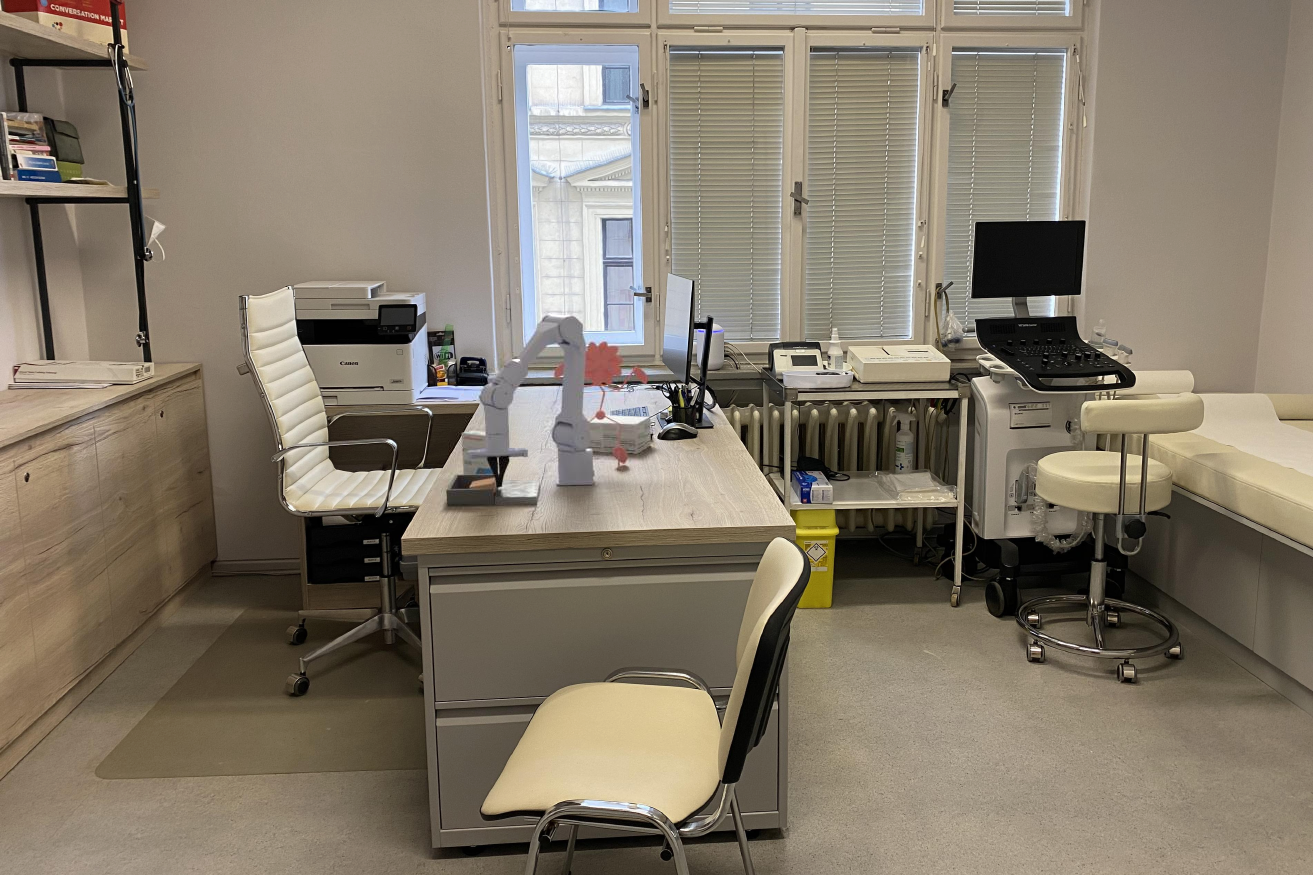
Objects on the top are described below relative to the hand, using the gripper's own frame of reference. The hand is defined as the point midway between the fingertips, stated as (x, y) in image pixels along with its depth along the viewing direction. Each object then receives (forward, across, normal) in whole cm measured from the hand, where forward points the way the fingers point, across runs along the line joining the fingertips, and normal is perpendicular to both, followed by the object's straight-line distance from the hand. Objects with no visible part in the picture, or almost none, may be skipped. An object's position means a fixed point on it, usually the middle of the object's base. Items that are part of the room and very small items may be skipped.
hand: (499, 486), depth 251 cm
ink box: (+3, +4, -25) cm, 25 cm away
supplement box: (+3, -39, -51) cm, 64 cm away
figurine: (+3, -30, -30) cm, 43 cm away
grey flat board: (+3, -5, +1) cm, 5 cm away
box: (+3, +6, -1) cm, 7 cm away
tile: (+2, +4, -2) cm, 4 cm away
